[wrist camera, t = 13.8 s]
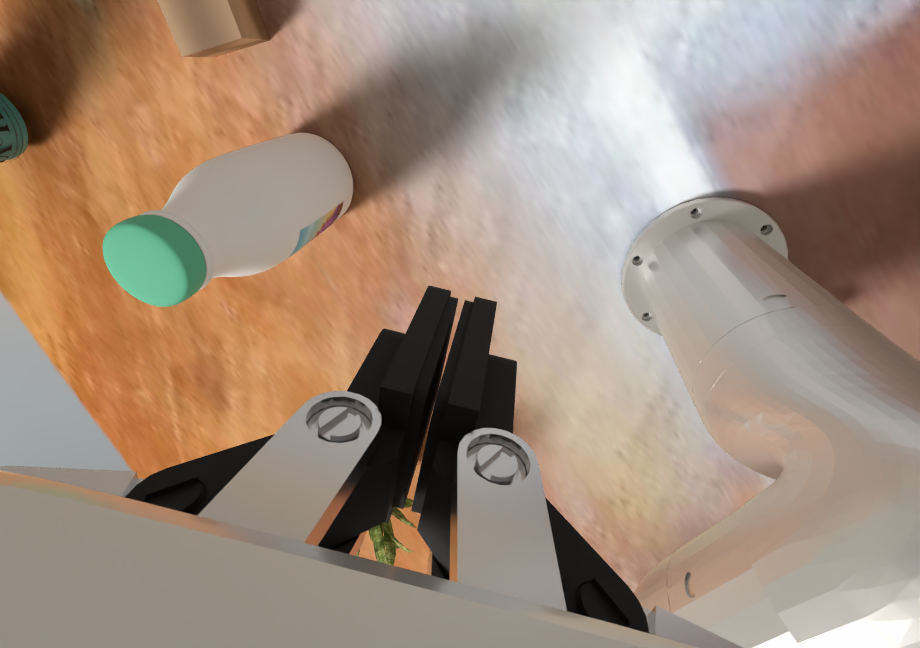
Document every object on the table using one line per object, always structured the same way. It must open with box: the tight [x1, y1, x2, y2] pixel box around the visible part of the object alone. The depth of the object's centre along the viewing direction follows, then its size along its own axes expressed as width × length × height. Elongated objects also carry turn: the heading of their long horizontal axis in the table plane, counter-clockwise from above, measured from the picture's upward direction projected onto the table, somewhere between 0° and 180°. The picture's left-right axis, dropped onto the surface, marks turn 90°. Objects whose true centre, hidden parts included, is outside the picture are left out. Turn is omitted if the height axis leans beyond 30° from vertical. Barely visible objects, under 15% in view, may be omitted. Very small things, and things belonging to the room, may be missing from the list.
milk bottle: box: [103, 133, 353, 307], centre depth 31 cm, size 8×8×20 cm
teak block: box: [157, 0, 270, 57], centre depth 33 cm, size 5×5×4 cm
